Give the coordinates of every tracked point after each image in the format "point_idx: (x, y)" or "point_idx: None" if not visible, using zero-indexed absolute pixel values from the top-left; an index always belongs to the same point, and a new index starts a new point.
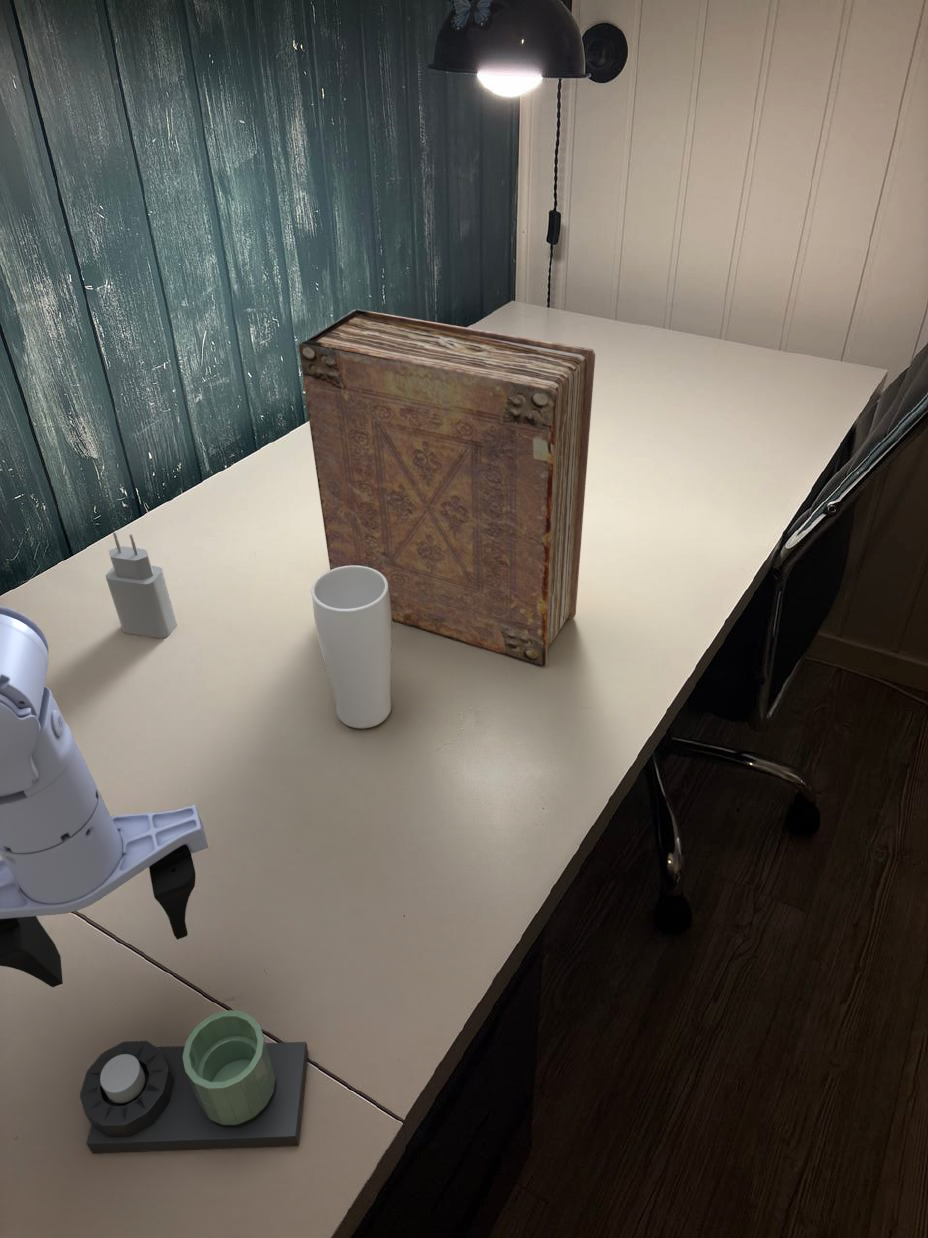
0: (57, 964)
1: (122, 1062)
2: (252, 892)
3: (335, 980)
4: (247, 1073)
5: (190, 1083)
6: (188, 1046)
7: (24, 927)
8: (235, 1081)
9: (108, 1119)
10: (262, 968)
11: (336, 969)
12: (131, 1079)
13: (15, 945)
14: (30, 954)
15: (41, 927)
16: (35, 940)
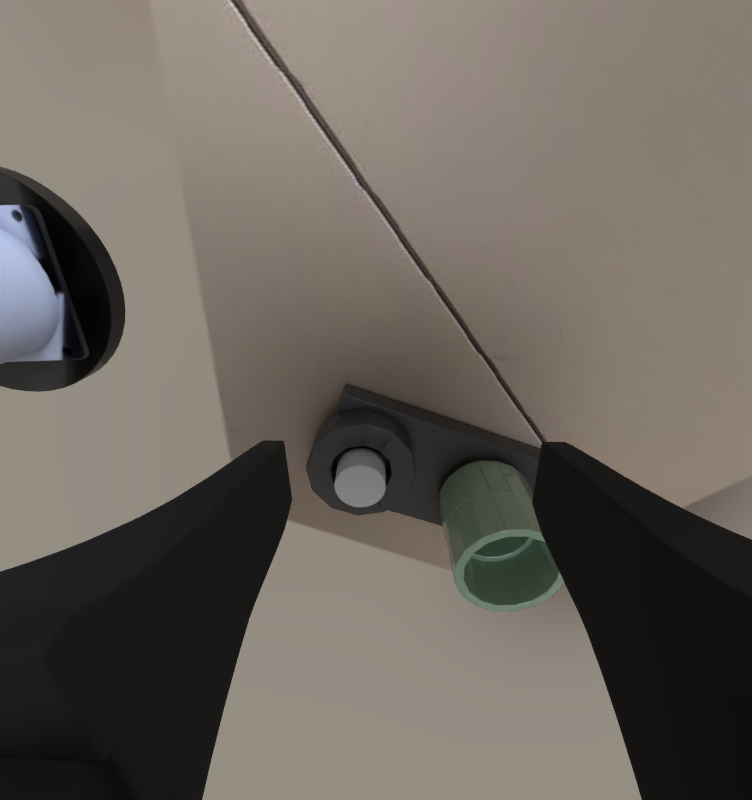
0: (280, 489)
1: (364, 476)
2: (604, 170)
3: (638, 384)
4: (528, 606)
5: (431, 467)
6: (467, 557)
7: (185, 726)
8: (511, 610)
9: (339, 504)
10: (558, 328)
11: (648, 369)
12: (373, 498)
13: None
14: (222, 712)
15: (236, 494)
16: (227, 608)
